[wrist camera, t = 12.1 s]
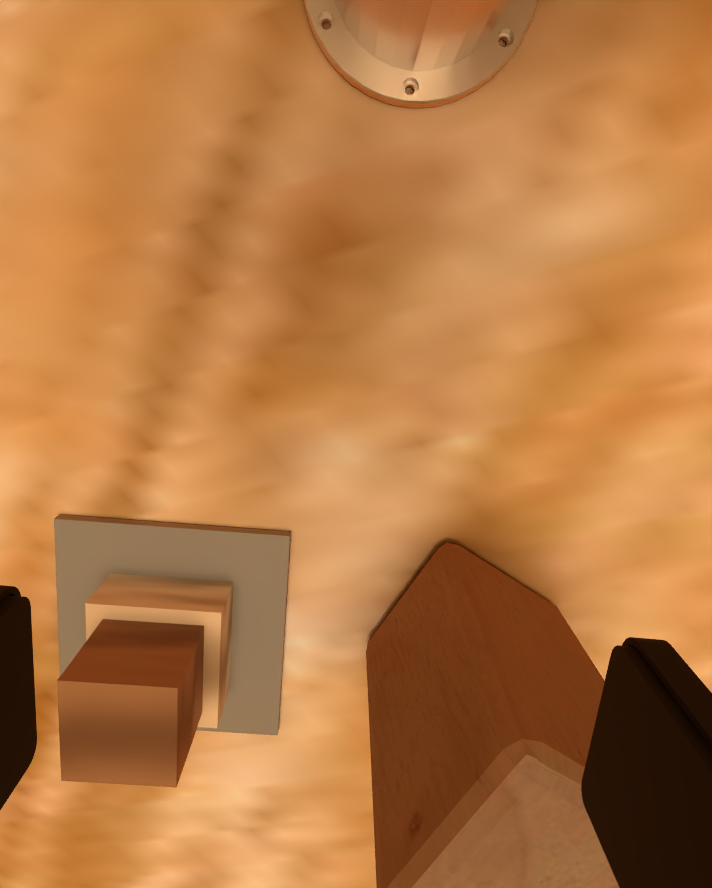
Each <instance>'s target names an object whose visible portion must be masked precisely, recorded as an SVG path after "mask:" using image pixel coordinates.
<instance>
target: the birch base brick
mask: <svg viewBox="0 0 712 888" xmlns="http://www.w3.org/2000/svg"><path fill="white" fill-rule="evenodd" d="M232 606H233V582H226V581H212V580H198V579H184V578H170V577H156V576H142V575H128V574H114V573H110V574H109V575H108V577H107V578H106V579H105V580H104V581H103V583H102V584H101V585H100V586H99V587H98V589H97V590H96V591H95V592H94V593H93V595H92V596H91V597H90V598H89V599H88V601H87V602H86V603H85V612H86V641H87V640H88V638H89V637H90V636H91V634H92V633H93V632H94V630H95V629H96V627H97V626H98V625H99V623H100V622H101V621H102V619H112V620H127V621H142V622H157V623H172V624H187V625H203V626H204V660H203V703H202V715H201V718H200V720H199V723H198V726H197V727H204V728H218V725H219V721H220V718H221V715H222V711H223V708H224V705H225V701H226V698H227V694H228V691H229V683H230V657H231V632H232Z"/></svg>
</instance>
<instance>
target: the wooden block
mask: <svg viewBox="0 0 712 888" xmlns="http://www.w3.org/2000/svg"><path fill="white" fill-rule="evenodd" d="M366 659H367V681H368V703H369V726H370V748H371V770H372V792H373V814H374V836H375V858H376V881H377V888H619V886H618V883H617V881H616V879H615V876H614V874H613V872H612V869H611V867H610V865H609V862H608V860H607V858H606V855H605V853H604V851H603V849H602V846H601V844H600V842H599V839H598V837H597V835H596V832H595V830H594V828H593V825H592V823H591V821H590V818H589V816H588V814H587V812H586V809H585V807H584V804H583V799H582V792H581V783H582V777H583V773H584V768H585V764H586V760H587V756H588V751H589V747H590V743H591V738H592V734H593V730H594V726H595V721H596V717H597V713H598V708H599V704H600V700H601V696H602V691H603V687H604V683H605V681H604V679H603V678H602V676H601V675H600V673H599V672H598V670H597V669H596V667H595V665H594V664H593V662H592V661H591V659H590V658H589V656H588V655H587V653H586V651H585V650H584V648H583V647H582V645H581V644H580V642H579V641H578V639H577V637H576V636H575V634H574V633H573V631H572V630H571V628H570V627H569V625H568V624H567V622H566V620H565V619H564V617H563V616H562V614H561V613H560V611H559V610H558V608H557V607H556V606H554V605H553V604H551V603H550V602H548V601H546V600H545V599H543V598H542V597H540V596H539V595H537V594H535V593H534V592H532V591H531V590H529V589H527V588H526V587H524V586H523V585H521V584H520V583H518V582H516V581H515V580H513V579H512V578H510V577H508V576H507V575H505V574H504V573H502V572H501V571H499V570H497V569H496V568H494V567H493V566H491V565H490V564H488V563H486V562H485V561H483V560H482V559H480V558H478V557H477V556H475V555H474V554H472V553H471V552H469V551H467V550H466V549H464V548H463V547H461V546H459V545H455V544H451V543H448V542H446V543H445V544H444V545H442V546H441V547H439V548H438V549H437V551H436V552H435V553H434V555H433V556H432V557H431V559H430V560H429V561H428V563H427V564H426V565H425V567H424V568H423V569H422V571H421V572H420V573H419V575H418V576H417V577H416V579H415V580H414V581H413V583H412V584H411V586H410V587H409V588H408V590H407V591H406V592H405V594H404V595H403V596H402V598H401V599H400V600H399V602H398V603H397V604H396V606H395V607H394V608H393V610H392V611H391V612H390V614H389V615H388V616H387V618H386V619H385V620H384V622H383V623H382V624H381V626H380V627H379V628H378V630H377V631H376V632H375V634H374V635H373V636H372V638H371V639H370V640H369V642H368V646H367V650H366Z"/></svg>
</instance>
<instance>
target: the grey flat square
mask: <svg viewBox="0 0 712 888" xmlns="http://www.w3.org/2000/svg"><path fill="white" fill-rule="evenodd" d="M54 527H55V555H56V582H57V610H58V638H59V666H60V676H61V675H62V673H63V672H64V671H65V669H66V668H67V667H68V665H69V664H70V663H71V661H72V660H73V659H74V657H75V656H76V654H77V653H78V652H79V650H80V649H81V648H82V646H83V645H84V644H85V642H86V612H85V603H86V602H87V601H88V599H89V598H90V597H91V596H92V595H93V593H94V592H95V591H96V590H97V589H98V587H99V586H100V585H101V584H102V583H103V581H104V580H105V579H106V578H107V577H108V575H109V574H110V573H114V574H128V575H142V576H156V577H170V578H184V579H198V580H212V581H226V582H233V606H232V632H231V657H230V683H229V691H228V694H227V698H226V701H225V705H224V708H223V711H222V715H221V718H220V721H219V725H218V728H204V727H197V729H196V730H202V731H218V732H233V733H249V734H264V735H278V730H279V717H280V701H281V685H282V669H283V653H284V637H285V621H286V605H287V589H288V573H289V557H290V541H291V531H277V530H264V529H250V528H237V527H223V526H210V525H196V524H183V523H169V522H156V521H142V520H129V519H115V518H102V517H88V516H75V515H61V514H60V515H58V516H57V517H56V518H55V519H54Z"/></svg>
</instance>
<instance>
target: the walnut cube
mask: <svg viewBox="0 0 712 888" xmlns="http://www.w3.org/2000/svg"><path fill="white" fill-rule="evenodd" d="M203 660H204V626H203V625H187V624H172V623H157V622H142V621H127V620H112V619H102V621H101V622H100V623H99V625H98V626H97V627H96V629H95V630H94V632H93V633H92V634H91V636H90V637H89V638H88V640H87V641H86V642H85V644H84V645H83V646H82V648H81V649H80V650H79V652H78V653H77V654H76V656H75V657H74V659H73V660H72V661H71V663H70V664H69V665H68V667H67V668H66V669H65V671H64V672H63V673H62V675H61V676H60V677H59V679H58V680H57V687H58V711H59V735H60V760H61V781H76V782H93V783H110V784H127V785H144V786H161V787H177V784H178V781H179V778H180V775H181V773H182V770H183V767H184V764H185V761H186V758H187V755H188V752H189V749H190V747H191V744H192V741H193V738H194V735H195V732H196V729H197V726H198V723H199V720H200V718H201V715H202V703H203Z"/></svg>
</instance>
